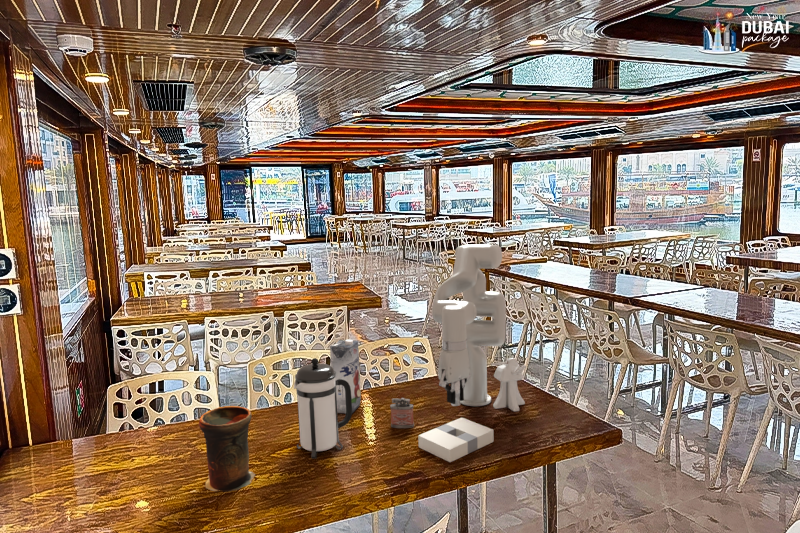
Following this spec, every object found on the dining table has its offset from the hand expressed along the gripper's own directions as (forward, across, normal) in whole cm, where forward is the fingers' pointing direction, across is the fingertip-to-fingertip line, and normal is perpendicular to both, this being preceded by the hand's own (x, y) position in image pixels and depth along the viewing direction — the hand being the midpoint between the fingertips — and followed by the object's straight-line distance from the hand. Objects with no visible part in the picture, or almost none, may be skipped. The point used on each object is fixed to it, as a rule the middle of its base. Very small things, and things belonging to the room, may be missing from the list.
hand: (455, 400), depth 181 cm
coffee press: (+15, +32, -29) cm, 46 cm away
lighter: (+15, +3, -23) cm, 28 cm away
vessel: (+15, +63, -30) cm, 71 cm away
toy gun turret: (+15, -37, -9) cm, 41 cm away
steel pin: (+1, 0, 0) cm, 1 cm away
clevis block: (+15, 0, 0) cm, 15 cm away
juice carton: (+15, +8, -49) cm, 52 cm away
